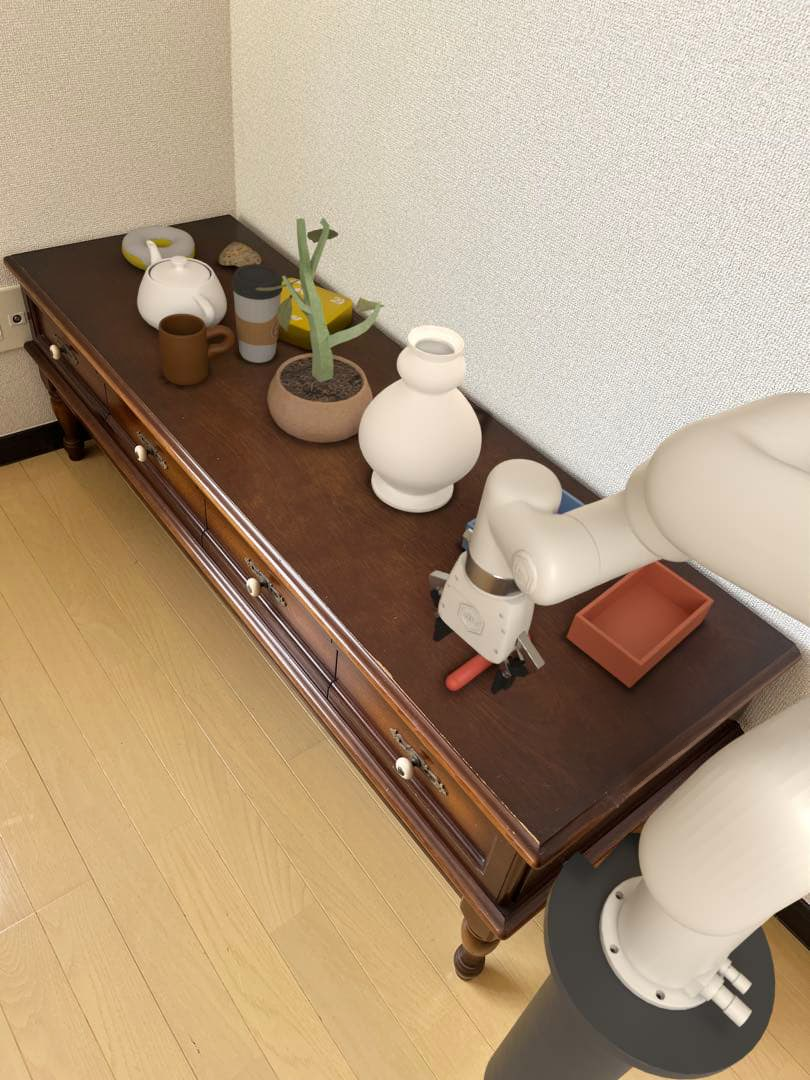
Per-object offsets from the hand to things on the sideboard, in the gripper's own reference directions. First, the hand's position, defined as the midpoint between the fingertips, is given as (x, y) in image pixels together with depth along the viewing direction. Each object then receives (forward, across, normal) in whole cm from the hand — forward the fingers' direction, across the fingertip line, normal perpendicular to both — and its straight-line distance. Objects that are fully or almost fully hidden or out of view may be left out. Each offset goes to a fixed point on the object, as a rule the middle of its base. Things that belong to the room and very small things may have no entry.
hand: (471, 660), depth 99 cm
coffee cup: (+4, -72, +21) cm, 75 cm away
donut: (+4, -110, +25) cm, 112 cm away
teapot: (+4, -88, +16) cm, 90 cm away
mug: (+4, -72, +9) cm, 72 cm away
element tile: (+4, -76, +34) cm, 83 cm away
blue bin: (+3, -11, +24) cm, 26 cm away
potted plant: (+3, -54, +19) cm, 57 cm away
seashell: (+4, -101, +38) cm, 108 cm away
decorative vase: (+3, -30, +19) cm, 35 cm away
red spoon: (+2, 0, +3) cm, 4 cm away
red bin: (+2, +9, +23) cm, 25 cm away
